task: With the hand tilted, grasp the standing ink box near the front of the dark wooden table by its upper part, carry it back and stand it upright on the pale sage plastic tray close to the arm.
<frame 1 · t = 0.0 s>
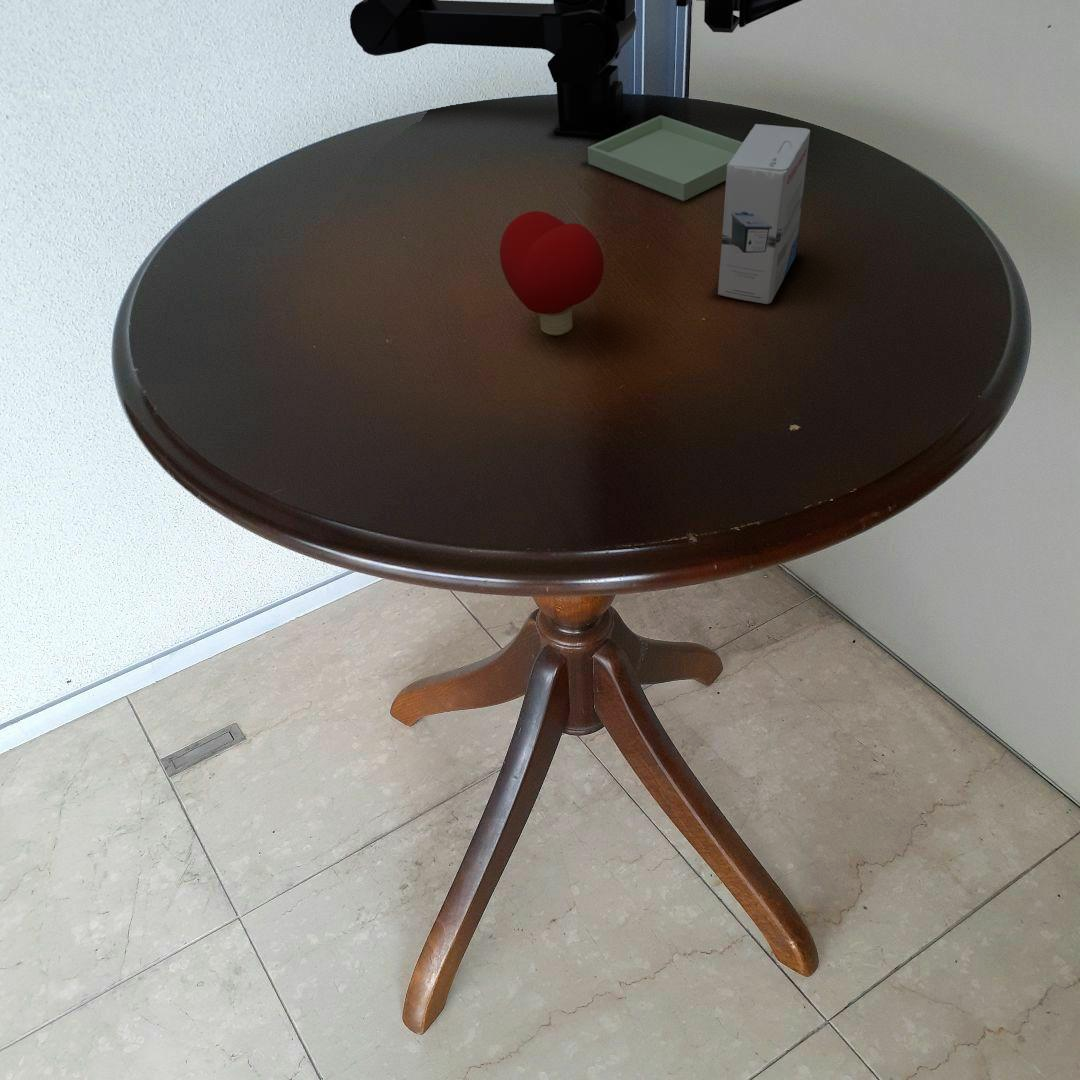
ink box: (759, 279, 90), on the table
light bulb: (557, 336, 86), on the table
caddy: (671, 164, 108), on the table
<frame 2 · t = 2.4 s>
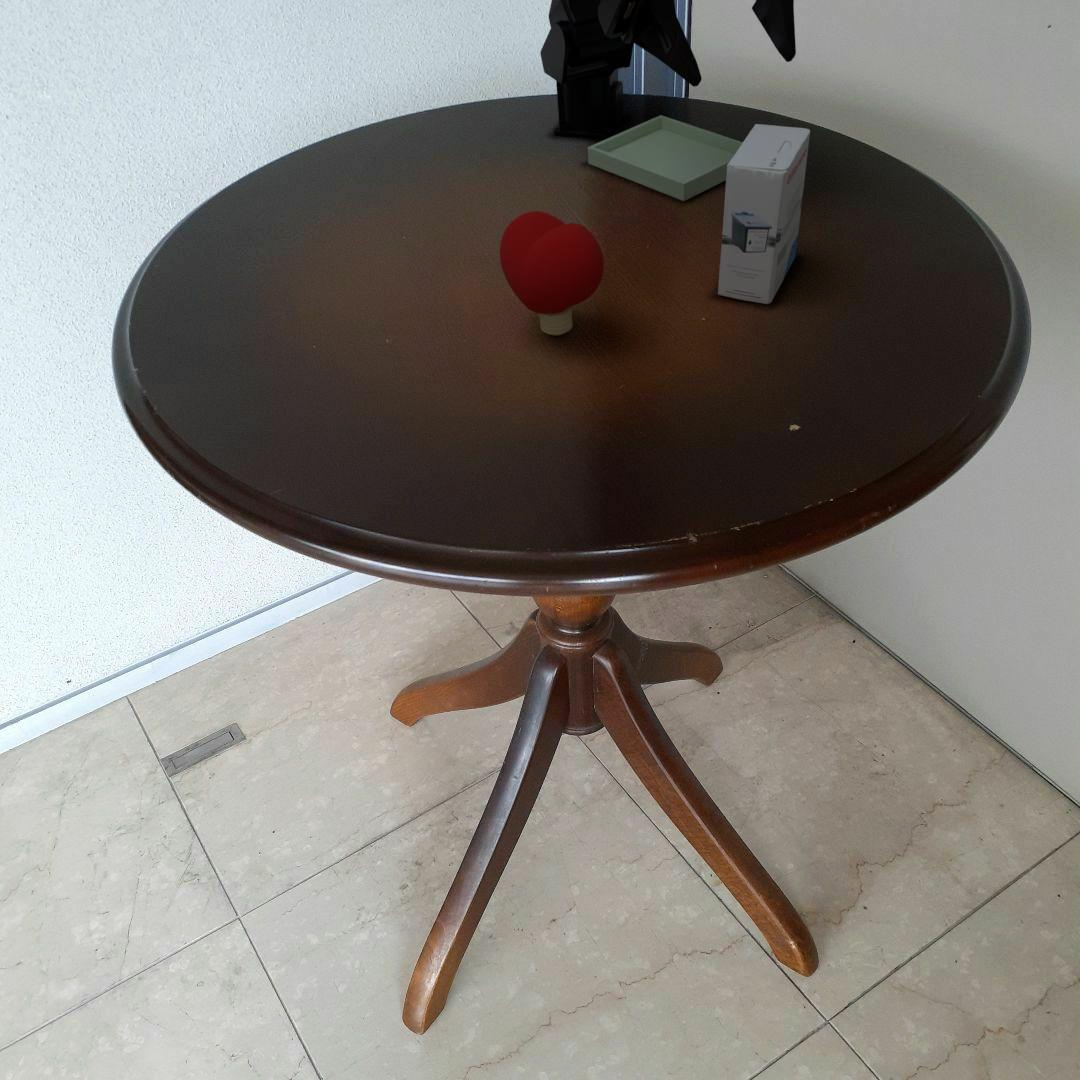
hand: (745, 70, 86), 15 cm above the table, tool tilted 50°, fingers open, 9 cm apart
nothing on the table moved.
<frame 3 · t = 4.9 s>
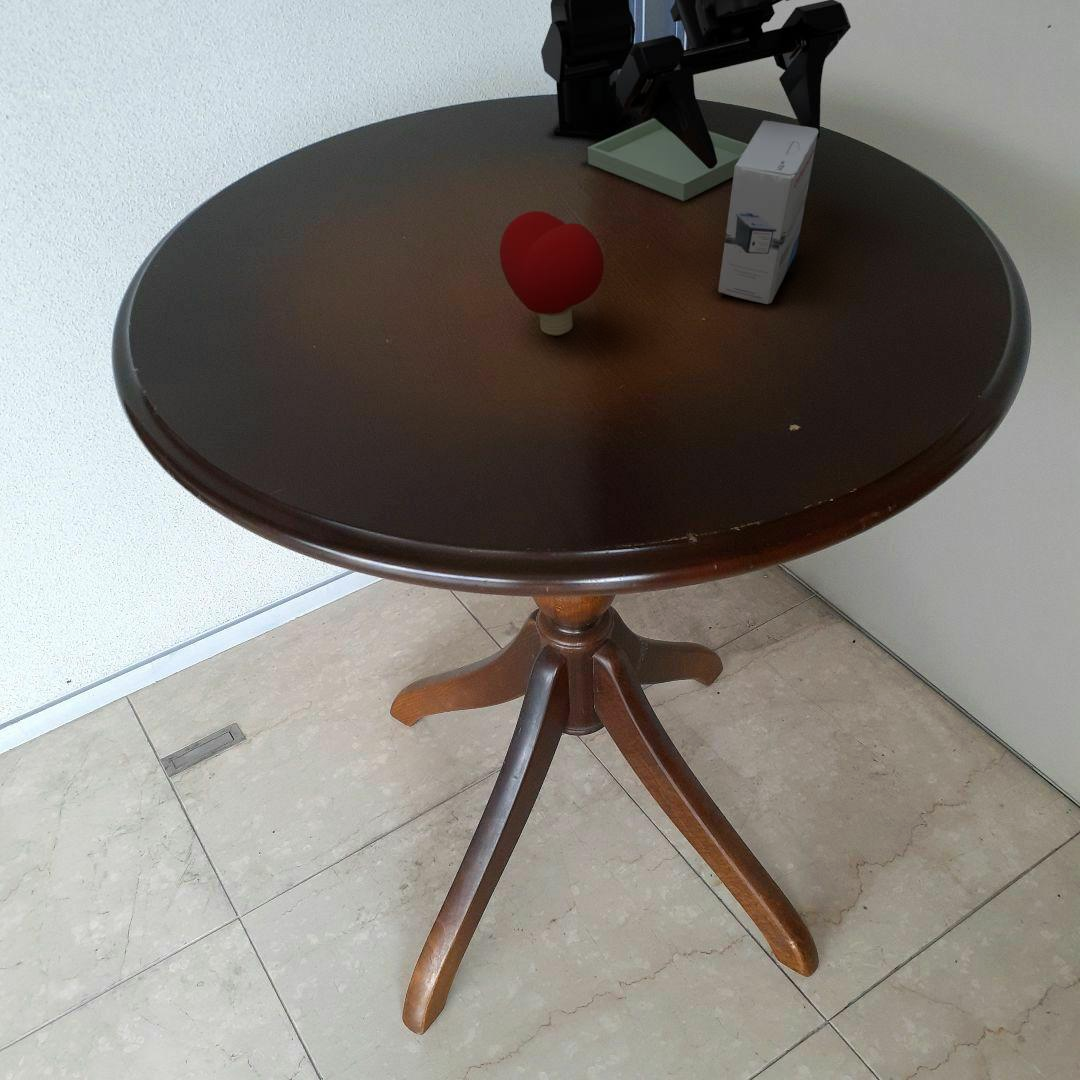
hand: (764, 153, 83), 11 cm above the table, tool tilted 45°, fingers open, 9 cm apart
ink box: (759, 276, 90), on the table, touching gripper
everything else where it was.
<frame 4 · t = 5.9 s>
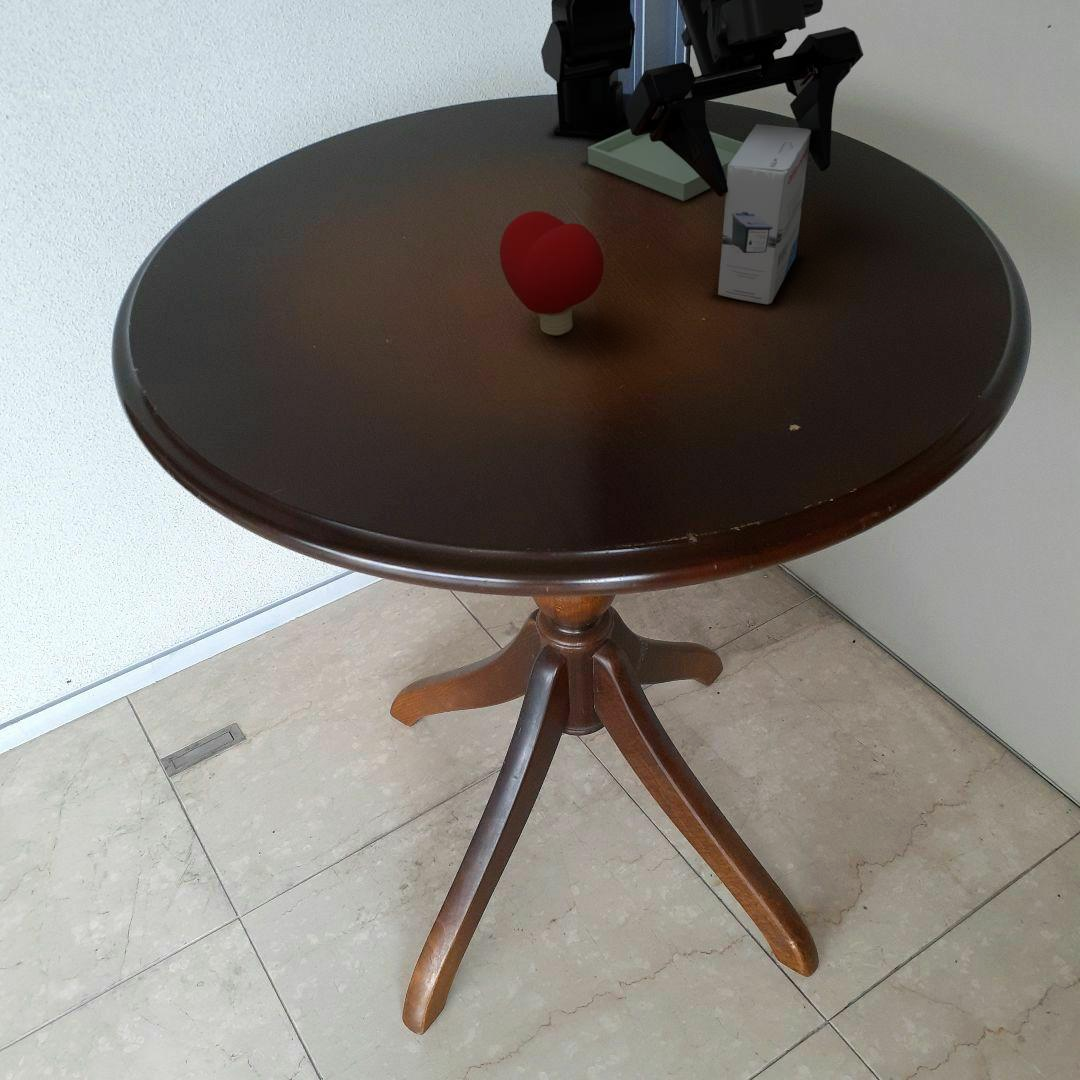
hand: (775, 181, 82), 9 cm above the table, tool tilted 45°, fingers closed on ink box, 9 cm apart
ink box: (759, 279, 90), on the table, touching gripper
everything else where it was.
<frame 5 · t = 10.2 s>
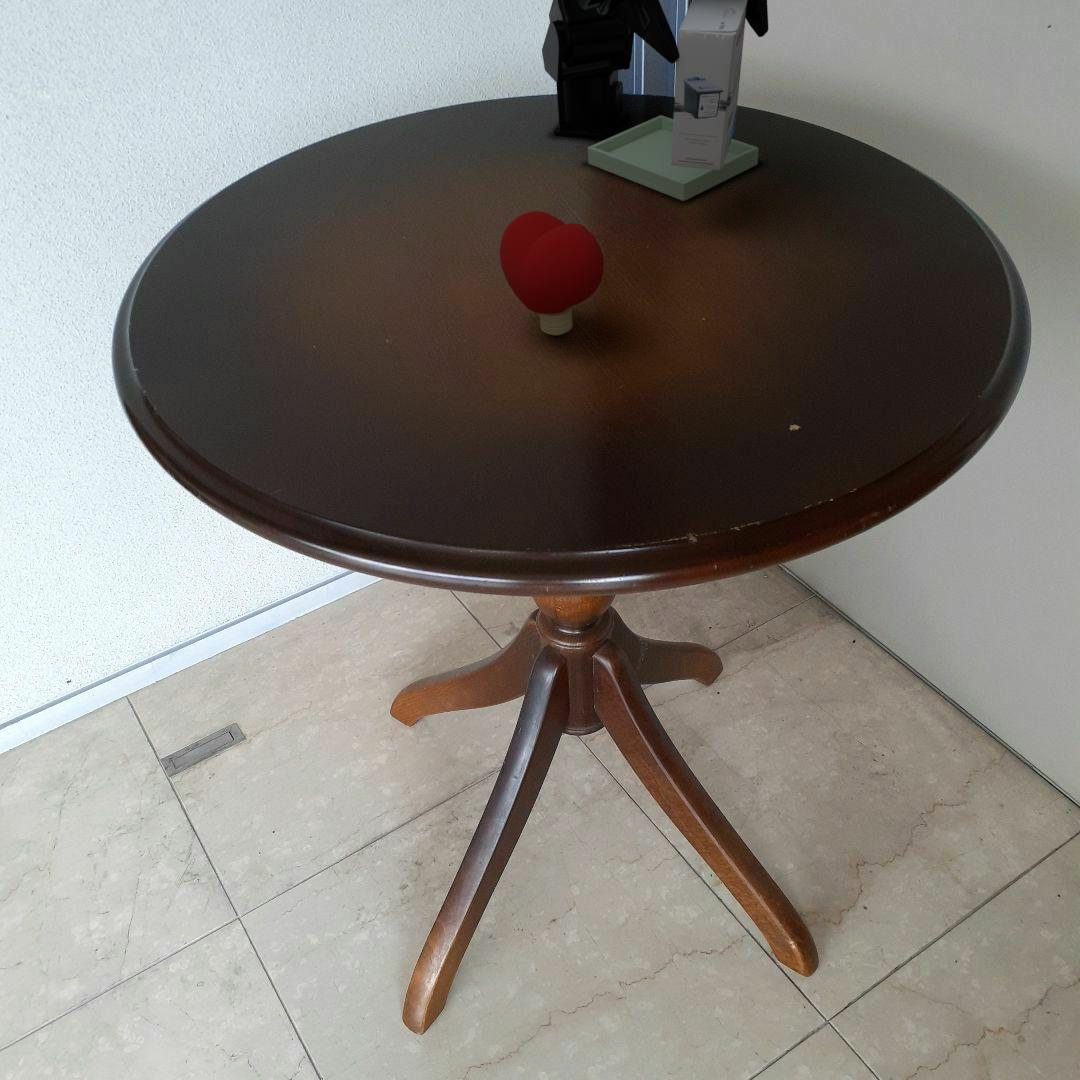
hand: (720, 47, 86), 16 cm above the table, tool tilted 45°, fingers closed on ink box, 9 cm apart
ink box: (705, 150, 94), point 7 cm above the table, touching gripper
everything else where it was.
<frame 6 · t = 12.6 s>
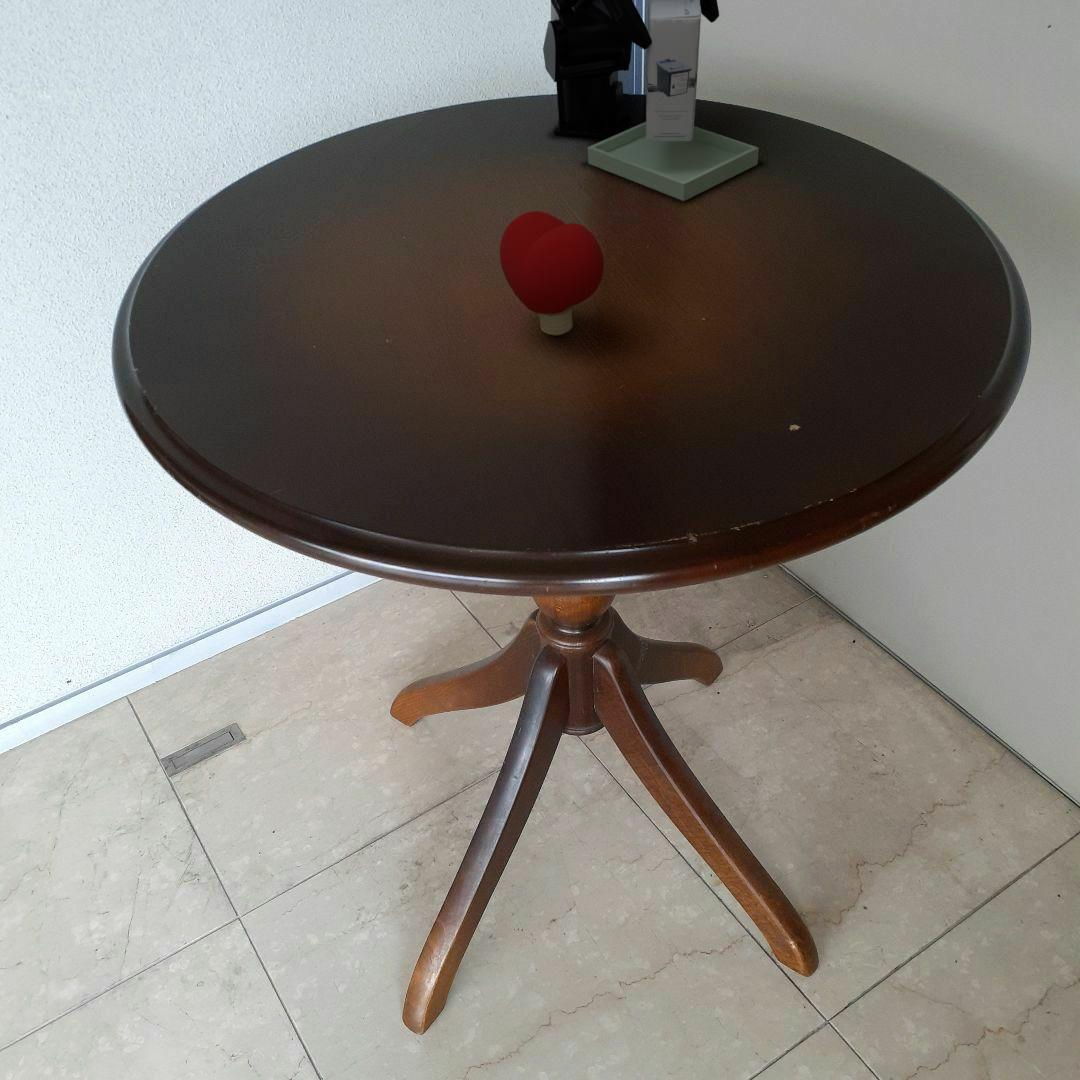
hand: (682, 32, 98), 13 cm above the table, tool tilted 45°, fingers closed on ink box, 9 cm apart
ink box: (670, 127, 106), point 4 cm above the table, touching gripper
everything else where it was.
when the fingers open (10 cm above the table, at t = 14.6 s): ink box stays where it is, resting on caddy.
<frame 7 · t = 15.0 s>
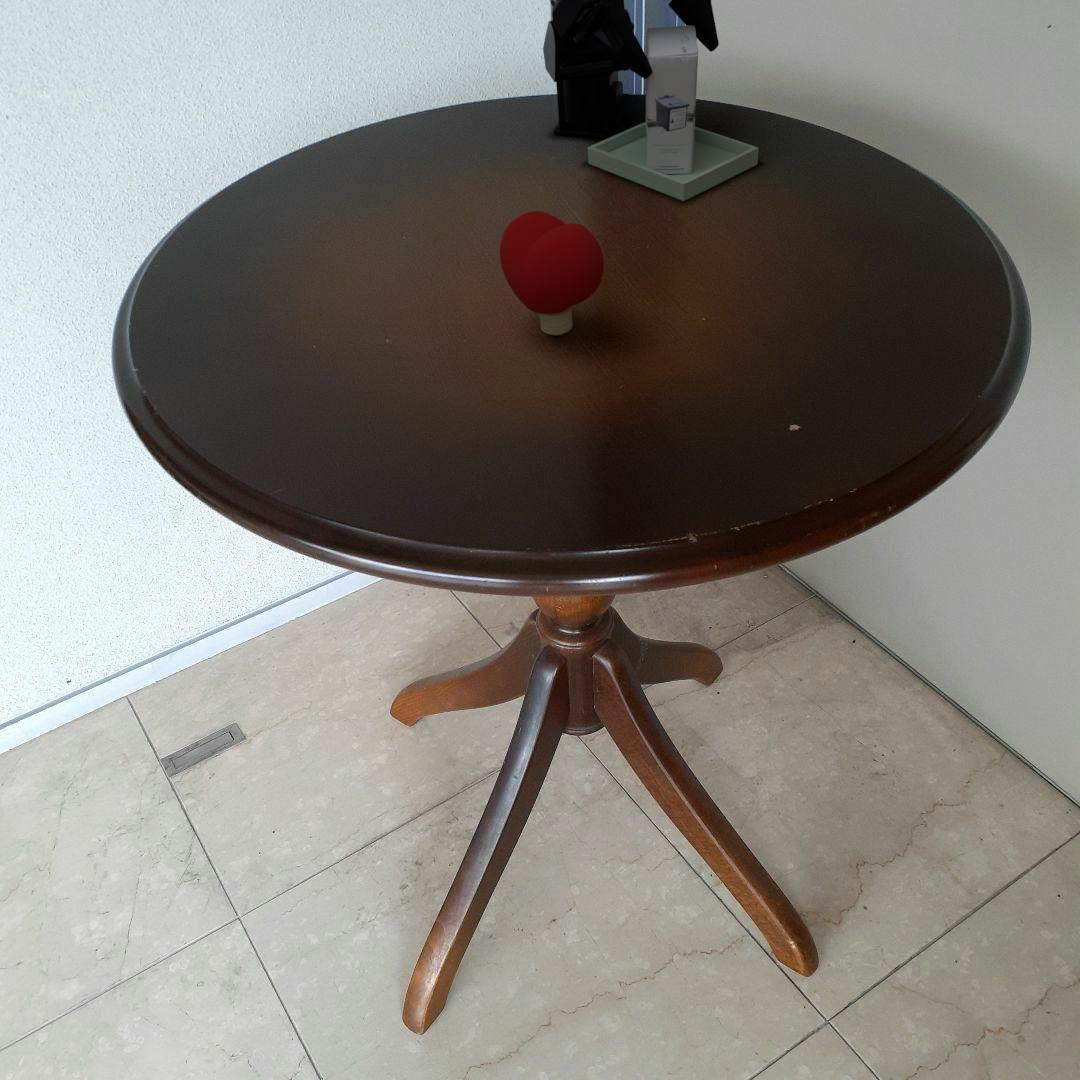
hand: (682, 62, 100), 11 cm above the table, tool tilted 45°, fingers open, 9 cm apart
ink box: (670, 159, 108), resting on caddy
everything else where it was.
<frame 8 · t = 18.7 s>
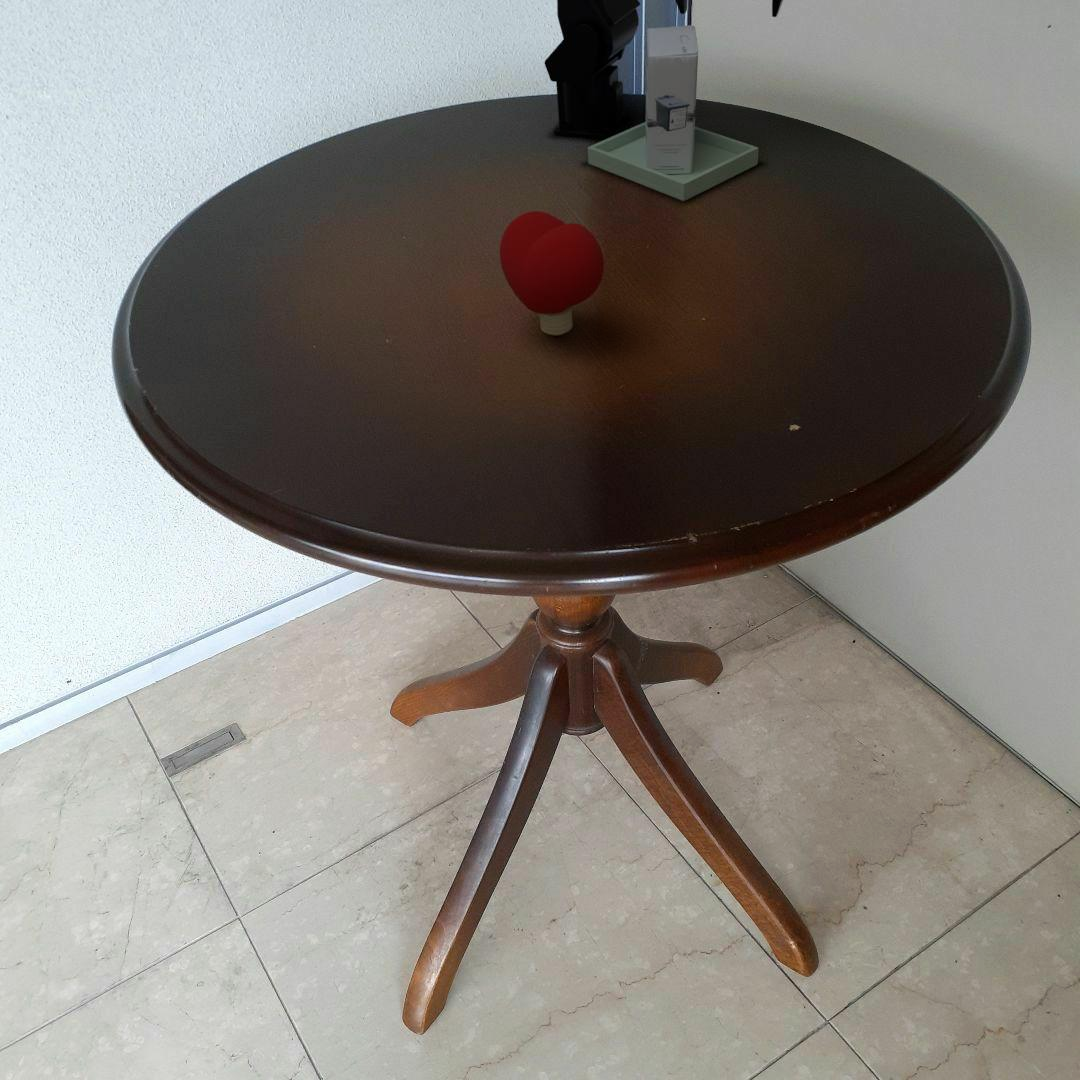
hand: (728, 14, 102), 13 cm above the table, tool pointing down, fingers open, 9 cm apart
nothing on the table moved.
at the end: ink box inside the target area in the caddy (0.3 cm from its centre), point 0.4 cm above the caddy's base; ink box tilted 0°; the gripper is holding nothing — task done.
